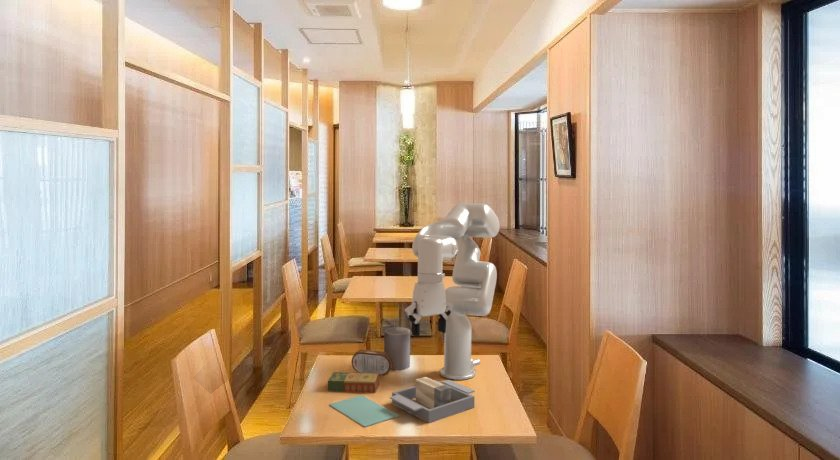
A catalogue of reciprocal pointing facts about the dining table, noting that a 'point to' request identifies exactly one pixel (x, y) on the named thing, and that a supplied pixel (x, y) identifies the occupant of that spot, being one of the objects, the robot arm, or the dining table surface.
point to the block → (432, 393)
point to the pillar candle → (398, 346)
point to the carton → (353, 382)
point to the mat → (363, 410)
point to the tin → (372, 362)
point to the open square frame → (430, 415)
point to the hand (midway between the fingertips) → (428, 333)
